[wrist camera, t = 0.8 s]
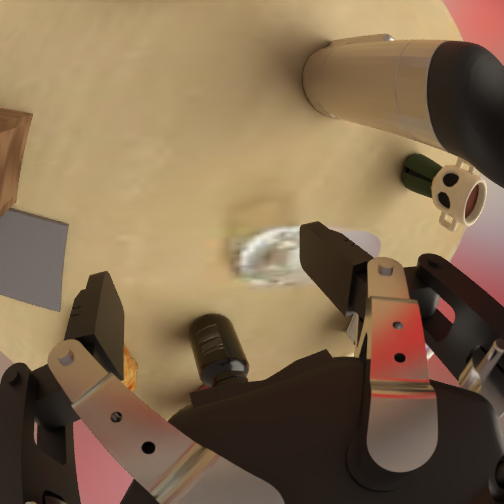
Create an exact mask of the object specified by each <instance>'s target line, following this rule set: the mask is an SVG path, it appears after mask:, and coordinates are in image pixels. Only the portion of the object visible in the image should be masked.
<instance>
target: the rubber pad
mask: <svg viewBox="0 0 504 504" xmlns="http://www.w3.org/2000/svg"><path fill="white" fill-rule="evenodd" d="M68 226H69V224H65V223H62V222H58V221H54V220H51V219H47V218H43V217H40V216H36V215H33V214H29V213H25V212H22V211H18V210H15V209H11V208H9V209H8V210H7V211H6V212H5V213H4V214H3V215H2V216H1V217H0V295H3V296H6V297H9V298H13V299H16V300H19V301H22V302H26V303H29V304H32V305H36V306H39V307H43V308H47V309H50V310H54V311H58V312H60V310H61V290H62V275H63V264H64V255H65V246H66V239H67V232H68Z"/></svg>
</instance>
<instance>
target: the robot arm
mask: <svg viewBox="0 0 504 504" xmlns="http://www.w3.org/2000/svg"><path fill="white" fill-rule="evenodd" d="M303 86H304V90H305V93H306V96H307V98H308V100H309V101H310V103H311V104H312V105H313V107H314V108H315V109H316V110H318V111H319V112H320V113H322V114H324V115H326V116H328V117H332V118H336V119H339V120H344V121H349V122H353V123H357V124H361V125H365V126H369V127H373V128H377V129H380V130H384V131H387V132H390V133H394V134H397V135H400V136H403V137H406V138H410V139H413V140H415V141H418V142H421V143H424V144H427V145H430V146H433V147H435V148H438V149H441V150H443V151H446V152H448V153H451V154H453V155H456V156H458V157H460V158H462V159H464V160H466V161H467V162H469V163H470V164H471V165H473V166H474V167H475V168H476V169H477V170H478V171H479V172H481V173H482V174H483V175H484V176H486V177H487V178H489V179H490V180H491V181H493V182H494V183H496V184H498V185H499V186H501V187H503V188H504V66H503V65H502V64H501V63H500V61H499V60H498V59H497V58H496V57H495V56H494V55H493V54H492V53H490V52H489V51H488V50H487V49H485V48H484V47H482V46H480V45H477V44H474V43H470V42H462V41H447V40H395V39H394V38H393V37H392V36H390V35H388V34H377V35H368V36H360V37H353V38H346V39H340V40H334V41H331V43H330V45H329V46H328V47H325V48H322V49H319V50H318V51H316V52H315V53H313V54H312V55H311V56H310V58H309V59H308V61H307V62H306V64H305V67H304V71H303ZM300 262H301V266H302V268H303V270H304V271H305V272H306V273H307V275H308V276H309V277H310V278H311V279H312V280H313V281H314V282H315V283H316V284H317V286H318V287H319V288H320V289H321V290H322V291H323V292H324V293H325V295H326V296H327V297H328V298H329V299H330V300H331V301H332V302H333V304H334V305H335V306H336V307H337V308H338V309H339V310H340V311H341V313H342V314H343V315H344V316H345V317H347V316H349V315H351V314H354V313H357V314H358V318H357V326H356V340H355V352H354V357H333V358H332V356H331V355H330V354H329V352H328V351H327V349H325V350H323V351H320V352H318V353H315V354H313V355H310V356H307V357H305V358H302V359H299V360H297V361H295V362H293V363H292V364H290V365H289V366H287V367H285V368H284V369H282V370H281V371H279V372H277V373H276V374H274V375H273V376H271V377H269V378H268V379H266V380H262V381H254V382H243V383H230V384H223V385H219V386H215V387H212V388H208V389H204V390H200V391H196V392H192V393H190V397H191V401H192V404H190V405H188V406H186V407H184V408H183V409H181V410H180V411H178V412H177V413H176V414H175V415H173V416H172V417H171V418H170V419H169V420H168V421H166V420H165V419H164V418H162V417H161V416H160V415H159V414H157V413H156V412H155V411H154V410H152V409H151V408H150V407H149V406H148V405H147V404H145V403H144V402H143V401H142V400H141V399H140V398H138V397H137V396H136V395H135V394H134V393H133V392H132V391H131V390H130V389H128V388H127V387H126V386H125V385H124V384H123V383H122V382H121V381H124V310H123V306H122V303H121V301H120V298H119V296H118V294H117V291H116V289H115V286H114V284H113V281H112V279H111V276H110V274H109V273H108V272H107V271H104V272H100V273H97V274H93V275H90V276H89V279H88V282H87V286H86V289H84V290H81V291H80V293H79V294H78V295H77V297H76V298H75V300H74V303H73V307H72V310H71V314H70V318H69V322H68V326H67V330H66V334H65V338H64V341H62V342H60V343H59V344H57V345H56V346H55V347H54V348H53V349H52V351H51V352H50V354H49V356H48V364H46V365H44V366H42V367H40V368H38V369H36V370H34V371H31V370H30V369H29V368H28V366H27V365H26V364H24V363H15V364H13V365H12V366H10V367H9V368H8V369H7V370H6V371H5V373H4V374H3V376H2V380H1V383H0V504H81V502H80V496H79V490H78V483H77V475H76V467H75V455H74V439H73V422H75V421H77V420H79V419H81V420H82V421H83V422H84V424H85V425H86V426H87V427H88V429H89V430H90V431H91V432H92V434H93V435H94V436H95V437H96V438H97V440H98V441H99V442H100V443H101V444H102V445H103V447H104V448H105V449H106V450H107V451H108V452H109V453H110V454H111V455H112V456H113V458H114V459H115V460H116V461H117V462H118V463H119V464H120V465H121V466H122V467H123V468H124V469H125V470H126V471H127V472H128V473H129V474H130V475H131V476H132V477H133V478H134V480H133V482H132V483H131V485H130V487H129V488H128V490H127V492H126V494H125V496H124V497H123V499H122V501H121V502H120V504H504V439H503V436H502V432H501V429H500V424H499V420H498V418H500V417H501V416H502V415H503V414H504V307H503V306H502V305H501V304H499V303H498V302H497V301H496V300H495V299H494V298H493V297H491V296H490V295H489V294H488V293H487V292H486V291H484V290H483V289H482V288H481V287H480V286H478V285H477V284H476V283H475V282H474V281H472V280H471V279H470V278H469V277H467V276H466V275H465V274H464V273H462V272H461V271H460V270H459V269H457V268H456V267H454V266H453V265H452V264H451V263H449V262H448V261H447V260H445V259H444V258H442V257H441V256H438V255H435V254H428V253H427V254H422V255H421V256H420V257H419V258H418V262H417V266H415V267H405V268H403V266H402V265H401V264H400V263H399V262H397V261H395V260H393V259H390V258H386V257H378V258H373V257H372V256H371V255H369V254H368V253H367V252H365V251H364V250H363V249H361V248H360V247H359V246H358V245H355V243H354V242H352V241H351V240H349V239H348V238H347V237H346V236H344V235H343V234H341V233H339V232H336V231H333V230H330V229H328V228H327V227H326V226H324V225H323V224H322V223H320V222H318V221H317V222H312V223H308V224H303V225H301V227H300ZM440 297H441V298H442V299H443V300H445V301H446V302H447V303H448V304H449V305H450V306H451V307H452V308H453V310H454V312H455V321H454V323H453V324H452V323H451V322H450V321H449V320H448V319H447V318H446V317H445V316H444V315H443V314H442V313H441V312H440V311H439V310H438V309H436V307H437V304H438V302H439V299H440ZM425 343H426V344H427V345H428V347H429V348H430V349H431V350H432V351H433V352H434V353H435V354H436V356H437V357H438V358H439V359H440V360H441V361H442V363H443V364H444V365H445V366H446V367H447V368H448V370H449V371H450V372H451V373H452V374H453V376H454V377H455V378H456V379H457V380H458V381H459V385H460V387H456V386H452V385H448V384H444V383H441V382H438V381H434V380H430V379H429V372H428V362H427V354H426V346H425ZM34 421H35V422H36V423H37V424H38V427H37V445H36V443H35V441H34Z"/></svg>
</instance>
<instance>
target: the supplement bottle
mask: <svg viewBox="0 0 504 504" xmlns="http://www.w3.org/2000/svg"><path fill="white" fill-rule="evenodd" d="M189 337H190V342H191V346H192V350H193V354H194V358H195V362H196V365H197V369H198V373H199V376H200V379H201V381H202V382H203V383H204V384H205V385H206V386H208V387H210V388H212V387H215V386H219V385H223V384H230V383H243V382H248V379H247V377H246V376H247V375H248V372H249V363H248V361H247V358H246V356H245V353H244V351H243V349H242V346H241V344H240V341H239V339H238V337H237V334H236V332H235V329H234V327H233V325H232V323H231V321H230V320H229V319H228V318H226V317H224V316H221V315H207V316H204V317H202V318H200V319H198V320H197V321H196V322H194V323H193V325H192V326H191V328H190V331H189Z"/></svg>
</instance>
